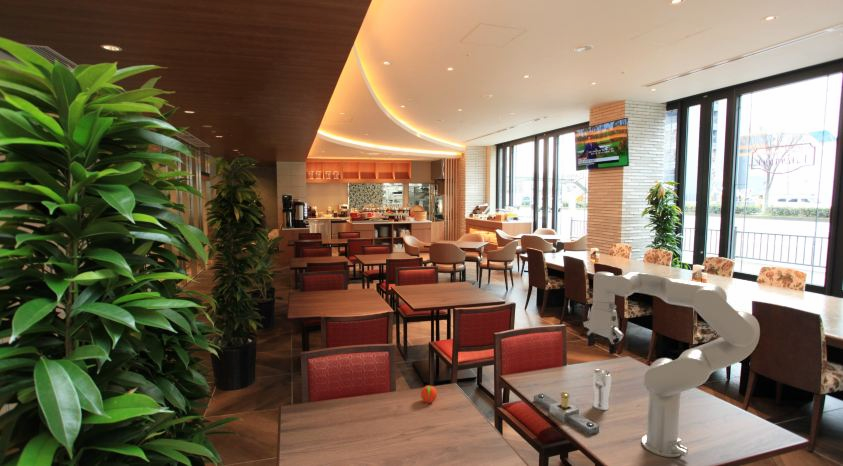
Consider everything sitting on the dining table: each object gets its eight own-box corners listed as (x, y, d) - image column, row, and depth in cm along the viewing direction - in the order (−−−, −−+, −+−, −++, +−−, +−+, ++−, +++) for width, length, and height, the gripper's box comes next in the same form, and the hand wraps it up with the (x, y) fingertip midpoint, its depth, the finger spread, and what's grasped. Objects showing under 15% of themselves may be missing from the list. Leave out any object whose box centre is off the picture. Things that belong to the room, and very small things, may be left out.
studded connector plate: (601, 430, 163) (602, 421, 163) (586, 436, 159) (587, 427, 159) (545, 397, 190) (545, 389, 189) (530, 401, 186) (531, 393, 186)
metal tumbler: (606, 403, 185) (608, 369, 183) (612, 411, 178) (613, 376, 176) (590, 402, 185) (591, 368, 184) (594, 410, 178) (596, 375, 177)
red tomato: (437, 407, 182) (437, 390, 181) (420, 406, 182) (420, 390, 181) (436, 398, 190) (436, 382, 189) (421, 397, 190) (421, 382, 189)
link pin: (570, 416, 174) (571, 395, 173) (564, 418, 172) (565, 396, 171) (564, 412, 177) (564, 391, 176) (558, 414, 175) (558, 393, 174)
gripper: (630, 309, 157) (628, 355, 158) (591, 299, 172) (590, 341, 173) (616, 311, 153) (614, 358, 155) (578, 301, 168) (576, 344, 170)
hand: (601, 349), depth 164 cm, fingers open, 9 cm apart
